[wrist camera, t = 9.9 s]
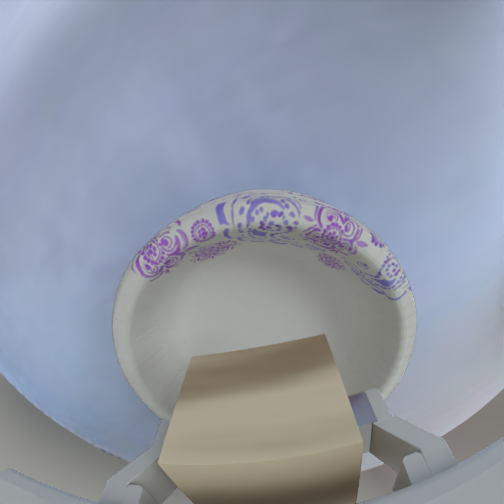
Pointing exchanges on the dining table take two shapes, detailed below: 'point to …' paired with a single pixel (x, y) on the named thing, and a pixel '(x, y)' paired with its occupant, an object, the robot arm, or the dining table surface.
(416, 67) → the dining table surface
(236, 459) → the maple block
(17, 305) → the dining table surface
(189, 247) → the paper bowls
